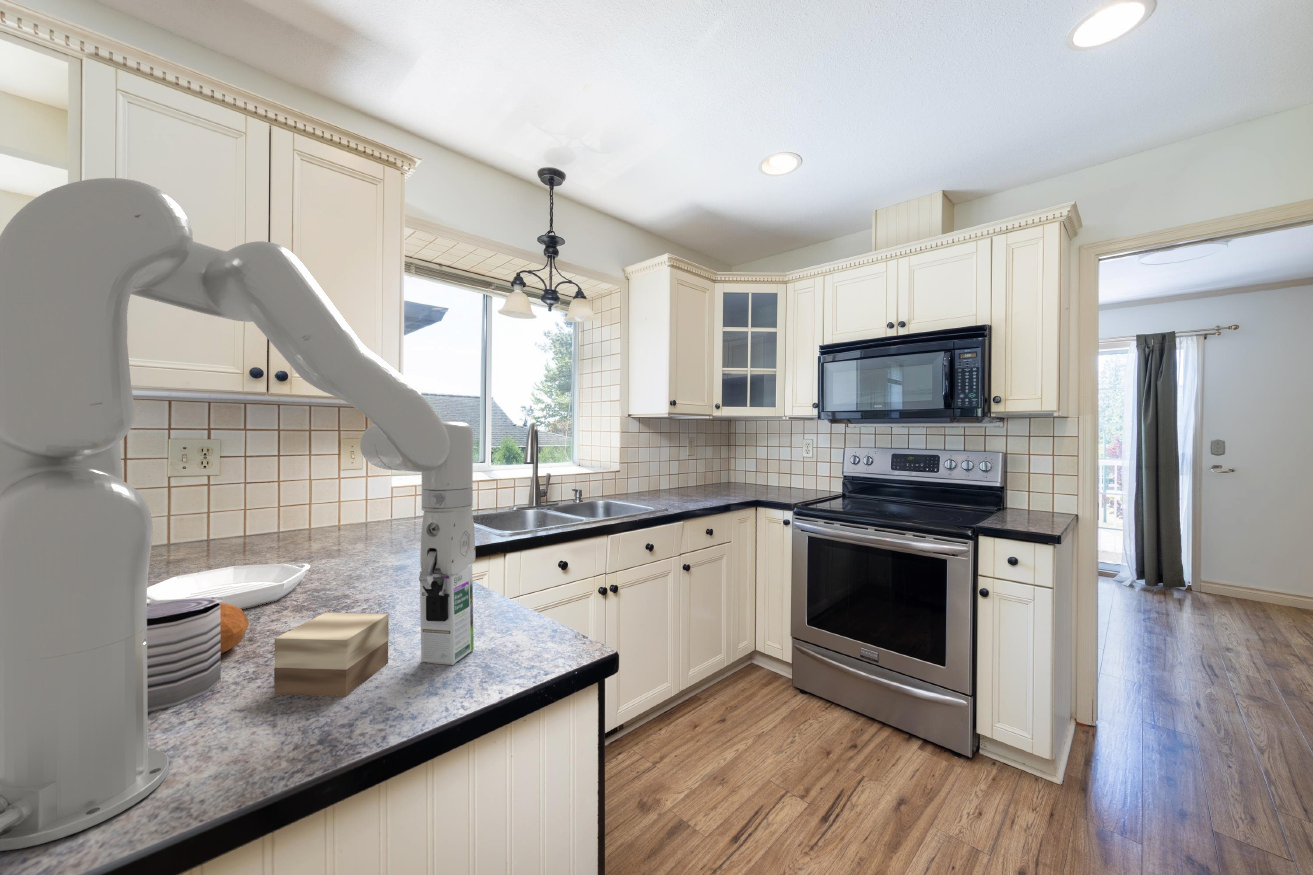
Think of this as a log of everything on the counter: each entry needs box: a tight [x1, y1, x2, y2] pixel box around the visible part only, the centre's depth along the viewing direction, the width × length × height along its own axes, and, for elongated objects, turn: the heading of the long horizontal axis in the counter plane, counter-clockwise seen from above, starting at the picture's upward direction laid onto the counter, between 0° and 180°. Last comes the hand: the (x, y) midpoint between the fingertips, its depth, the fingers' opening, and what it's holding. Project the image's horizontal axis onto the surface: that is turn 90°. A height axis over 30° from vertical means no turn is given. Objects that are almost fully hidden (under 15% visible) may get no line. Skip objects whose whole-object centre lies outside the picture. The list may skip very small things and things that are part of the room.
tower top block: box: [274, 612, 390, 670], centre depth 74 cm, size 10×10×4 cm
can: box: [147, 598, 223, 713], centre depth 70 cm, size 11×11×12 cm
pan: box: [147, 563, 311, 611], centre depth 109 cm, size 31×25×4 cm
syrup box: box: [419, 563, 475, 666], centre depth 81 cm, size 6×6×14 cm
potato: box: [219, 603, 250, 655], centre depth 82 cm, size 9×11×8 cm
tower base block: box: [273, 640, 389, 698], centre depth 74 cm, size 10×10×4 cm
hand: (447, 611), depth 81 cm, fingers closed on syrup box, 6 cm apart
